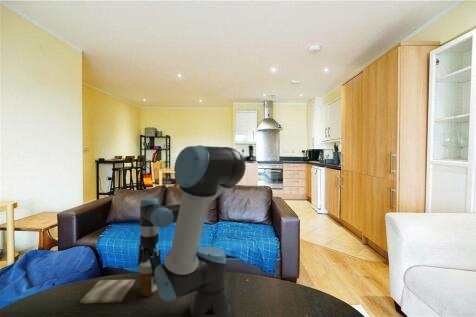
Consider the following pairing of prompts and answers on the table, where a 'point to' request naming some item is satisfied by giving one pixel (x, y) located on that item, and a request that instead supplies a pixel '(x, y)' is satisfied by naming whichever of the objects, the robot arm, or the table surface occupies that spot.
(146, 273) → the disposable coffee cup
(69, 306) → the table surface
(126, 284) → the wooden board
